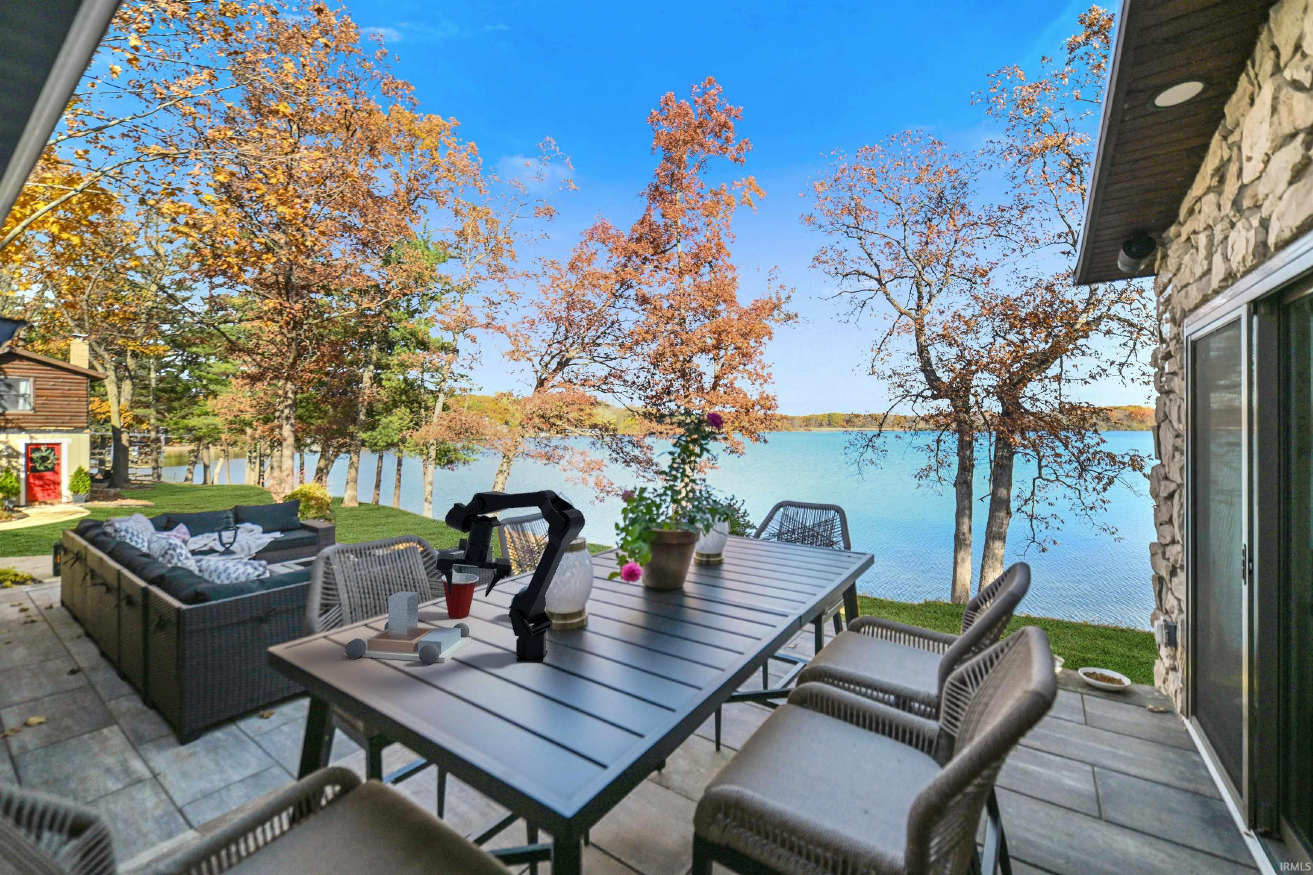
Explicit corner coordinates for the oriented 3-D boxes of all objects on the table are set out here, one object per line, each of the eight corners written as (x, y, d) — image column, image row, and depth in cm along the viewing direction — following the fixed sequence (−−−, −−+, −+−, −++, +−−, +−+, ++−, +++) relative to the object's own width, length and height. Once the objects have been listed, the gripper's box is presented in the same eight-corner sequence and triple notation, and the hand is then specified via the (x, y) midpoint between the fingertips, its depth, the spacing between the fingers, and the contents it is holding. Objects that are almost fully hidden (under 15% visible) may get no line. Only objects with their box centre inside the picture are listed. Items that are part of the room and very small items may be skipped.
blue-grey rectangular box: (417, 640, 145) (418, 592, 145) (406, 647, 140) (407, 597, 140) (399, 639, 146) (400, 591, 146) (387, 646, 141) (388, 596, 141)
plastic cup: (471, 622, 164) (472, 581, 165) (434, 621, 165) (435, 580, 165) (483, 611, 175) (483, 572, 175) (448, 610, 175) (449, 571, 176)
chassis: (473, 640, 150) (474, 623, 150) (441, 665, 133) (441, 646, 133) (383, 634, 153) (383, 617, 153) (339, 657, 136) (340, 639, 136)
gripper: (512, 532, 157) (501, 585, 159) (442, 524, 150) (431, 580, 152) (516, 546, 147) (504, 602, 148) (441, 538, 140) (429, 597, 141)
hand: (467, 595), depth 148 cm, fingers open, 9 cm apart
